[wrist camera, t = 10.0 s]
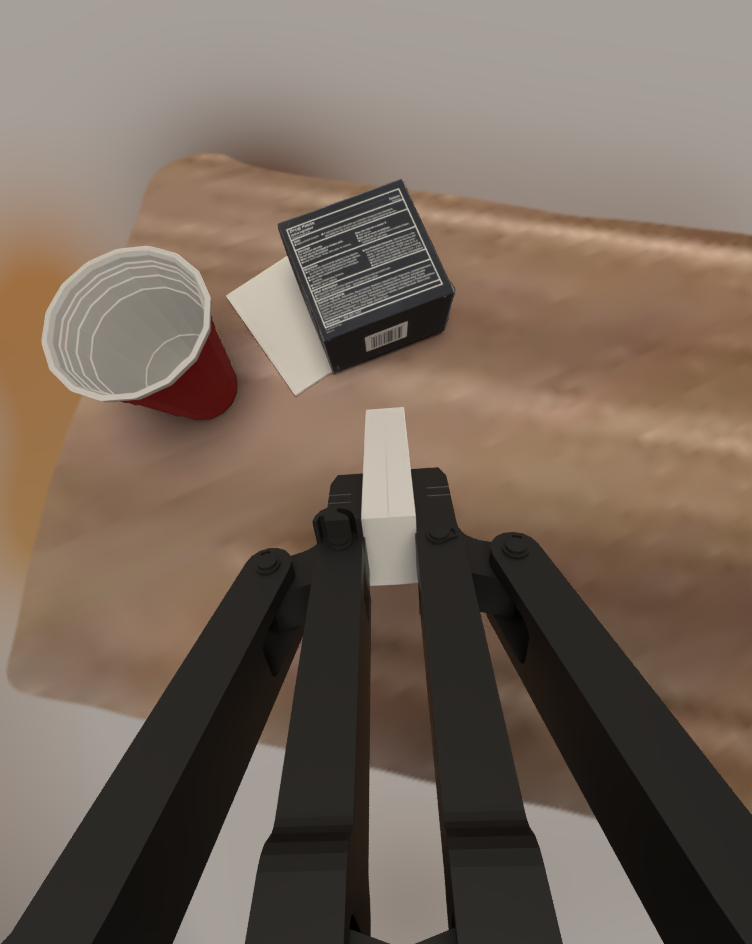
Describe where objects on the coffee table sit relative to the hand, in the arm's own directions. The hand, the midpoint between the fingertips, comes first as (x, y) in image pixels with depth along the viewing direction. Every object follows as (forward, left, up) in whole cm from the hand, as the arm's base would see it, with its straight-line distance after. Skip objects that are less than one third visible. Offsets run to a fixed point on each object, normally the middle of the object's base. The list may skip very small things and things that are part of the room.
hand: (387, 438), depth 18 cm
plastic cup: (+17, +8, -19) cm, 27 cm away
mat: (+17, -5, -19) cm, 26 cm away
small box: (+10, -7, -15) cm, 19 cm away
